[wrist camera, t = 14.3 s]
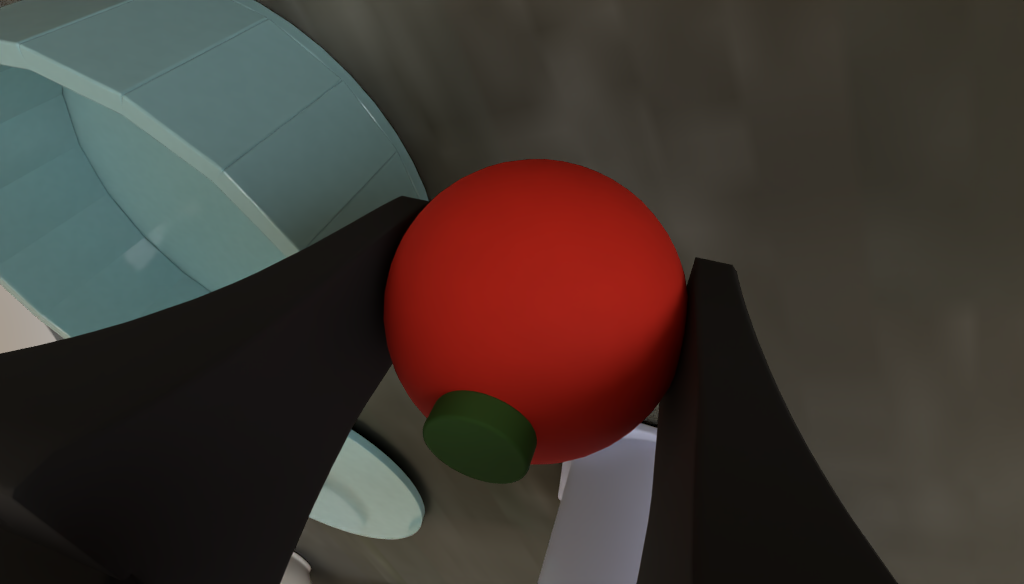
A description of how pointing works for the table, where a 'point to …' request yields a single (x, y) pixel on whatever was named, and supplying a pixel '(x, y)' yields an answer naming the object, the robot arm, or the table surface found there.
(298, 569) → the lidded bowl
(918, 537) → the table surface
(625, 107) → the table surface
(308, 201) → the pan
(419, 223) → the tomato
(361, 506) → the pan lid
